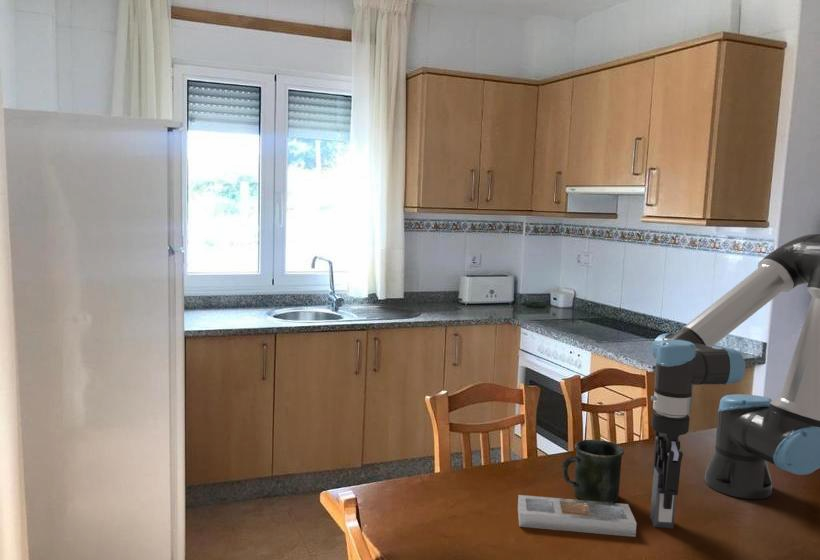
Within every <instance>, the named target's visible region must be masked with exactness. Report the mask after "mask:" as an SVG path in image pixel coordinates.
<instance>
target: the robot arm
mask: <svg viewBox="0 0 820 560" xmlns="http://www.w3.org/2000/svg"><path fill="white" fill-rule="evenodd" d="M804 284H807V287H806V290H807V291H808V293H809V295H810V296H811V299H810V302H809V305H808V308H807V312H806V314H805V318H804V320H803V324H802V326H801V331H800V333H799V337H798V339H797V343H796V345H795V349H794V352H793V355H792V359H791V361H790V364H789V368H788V370H787V374H786V377H785V380H784V383H783V385H782V386H783V387H782V389H781V392H780V395H779V397H778V398H775V399H773V400H772V398H769V397H766V396H761V395H754V394H742V393H741V394H739V393H738V394H736V393H735V394H733V393H732V394H727V395H724V396H723V397H721V399H720V401H719V406H718V409H717V419H716V420H717V421H716V423H717V424H716V432H715V433H716V434H715V445H714V447H715V448H714V452H713V455H712V456H711V459H710V461H709V463H708V465H707V467H706V469H705V472H704V483H706V485H707V486H708V487H710V489H713V490H714V491H717V492H719V493H721V494H725V495H727V496H731V497H734V498H739V499H745V500H760V499H761V500H762V499H767V498H769V497H770V496H771V495H772V492H773V482H772V477H771V472H770V469H769V465H768V462H769V463H770V464H772V465H774V466H776V468H779V469H780V470H784V471H786V472H788V473H789V472H790V473H791V474H794V475H796V476H797V475H799V476H802V475H803V476H805V475H810V474H812V473H814V472H815V471H816V470H819V469H820V233H812V234H811V233H810V234H806V235H802V236H798V237H796V238H794V239H792V240H790V241H788V242H786V243H784V244H782V245H781V246H779V247H777V248H776V249H774V250H773V251H771V252H770V253H768V254H767V255H766V256H765V257H763V258H762V259H761V260H760V261H758V265H757V268H756V269H755V270H754V271H753V272H751V273H749V274H748V275H747V276H746V277H745V278H744V279H743V280H741V281H740V282H739V283H737V284H736V285H735V286H733V287H732V288H731V289H730V290H728V291H727V292H726V293H725V294H723V295H722V296H721V297H720V298H719V299H717V300H716V301H715V302H714V303H712V304H711V305H709V306H708V307H707V308H705V309H704V310H703V311H702V312H701V313H700V314H698V315H697V316H695V318H693V319H692V320H691V321H690V322H688V323H687V324H686V325H685V326H683V327H682V328H681V329H679V330H678V331H676V332H675V333H671V332H670V333H662V334H660V335H658V336H657V337H656V338H655V339H654V340H653V342H652V344H651V345H652V346H651V352H652V356H653V358H654V360H655V373H654V374H655V376H654V389H653V392H654V393H653V394H654V395H651V396H650V400H651V401H652V402H653V403H652V408H653V411H652V412H651V423H650V425H651V429H653V431H654V454H653V466H652V467H653V468H652V474H654V466H656V467H663V472H662V490H658V492H659V493H660V499H659V511H658V521H659V522H670V523H672V512H673V501H674V495H676V496H678V494H679V485H680V475H681V466H682V460H683V456H684V454H683V451H680V450H681V441H680V440H679V437H680V436H682V435H683V436H684V435H687V434H688V433H689V427H690V420H691V419H690V416H689V415H690V414H691V412H692V411H691V410H692V409H691V408H692V401H693V400H692V399H693V398H692V397H693V395H692V394H693V388H694V387H693V386H703V385H706V386H707V385H709V386H711V385H723V386H726V385H729V384H730V385H731V384H736V383H739V382H740V381H741V380H742V379H743V378H744V376H745V373H746V361H745V359H744V357H743V355H742V354H741V353H740V351H738V350H736V349H733V348H732V349H731V348H725V347H723V348H716V347H715V348H714V346H715V345H716V344H717V343H719V342H721V340H723V339H724V338H725V337H727V336H728V335H729V334H730V333H732V332H733V331H734V330H736V329H737V328H738V327H740V325H741V324H743V323H744V322H746V321H747V320H748V319H750V317H752V316H753V315H754V314H756V313H757V312H758V311H759V310H761V309H762V308H763V307H764V306H766V305H767V304H768V303H769V302H771V301H772V300H773V299H775V298H776V297H777V296H778V295H779V294H781V293H782V292H783V293H788V292H790V291H792V290H793V289H794V288H795V287H797V286H800V285H804Z"/></svg>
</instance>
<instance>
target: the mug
mask: <svg viewBox="0 0 820 560" xmlns="http://www.w3.org/2000/svg"><path fill="white" fill-rule="evenodd" d="M574 449H575V451H576V452H575V456H570V457H566V458H565V460H564V461H563V462H562V465H561V466H562V467H561V469H562V476H563V478H564V480H565V481H566V483H567V484H568V485H570V486H572V487H573V493H574V495H575V497H576V498H577V499H578V500H585V501H596V502H608V503H616V501H618V499H619V494H620V481H621V472H622V471H621V470H622V469H621V468H622V458H623V455H624V453H625V450H624V448H623V447H622V446H621V445H619V444H616V443H615V442H610V441H607V440H602V439H583V440H579V441H577V442H576V443H575V444H574ZM572 463H575V464H574V465H575V467H574V481H573V480H571V479H570V477H569V472H568V470H569V466H570V464H572Z"/></svg>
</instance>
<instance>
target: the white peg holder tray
mask: <svg viewBox="0 0 820 560" xmlns="http://www.w3.org/2000/svg"><path fill="white" fill-rule="evenodd" d="M517 496H518V499H517V513H518V514H517V515H518V516H517V517H518V525H519V528H521V527H522V528H531V529H541V530H542V529H545V530H554V531H564V532H565V531H566V532H576V533H577V532H578V533H585V534H586V533H587V534H597V535H598V534H599V535H608V536H609V535H610V536H621V537H631V538H632V537H633V538H636V537H637V524H638V523H637V521H636V518H635V516H634V514H633V512H632V510H631V508H630V506H629V504H628V503H617V502H614V503H608V502H596V501H585V500H581V499H572V498H561V497H560V498H559V497H549V496H537V495H525V494H523V495H522V494H518V495H517Z"/></svg>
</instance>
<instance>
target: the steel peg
mask: <svg viewBox="0 0 820 560" xmlns="http://www.w3.org/2000/svg"><path fill="white" fill-rule="evenodd" d="M662 472H663V467H656V466H654V474H653V473H652V474H653V477H652V487H651V497H650V498H651V501H650V512H649V513H650V514H649V519H651V520H650V521H652V522H651V523H652V525H653V528H664V529H665V528H666V529H674V526H675V525H674V524H675V511H676V502H677V501H676V500H677V495H674V501H673V512H672V523H670V522H659V521H658V511H659V499H660V493H659V492H658V490H662Z"/></svg>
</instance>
